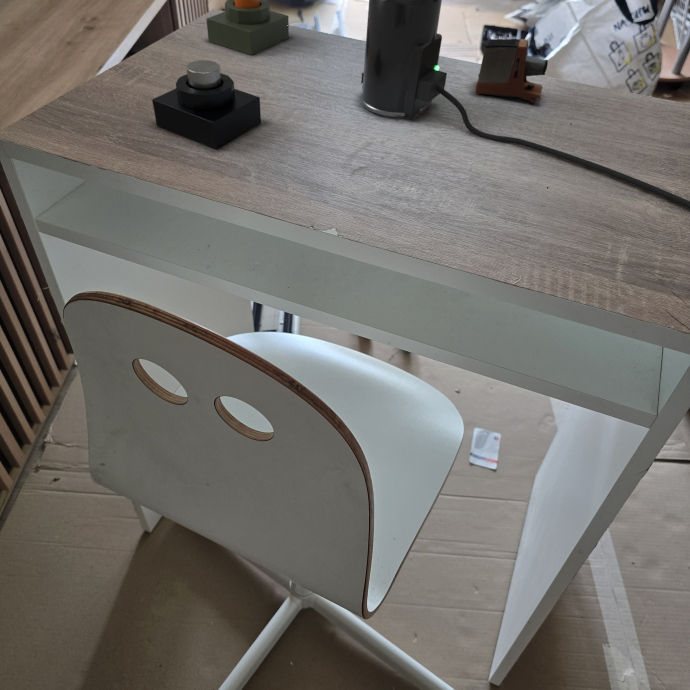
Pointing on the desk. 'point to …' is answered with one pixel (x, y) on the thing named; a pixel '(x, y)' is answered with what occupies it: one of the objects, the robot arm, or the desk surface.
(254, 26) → the block far
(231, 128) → the block near
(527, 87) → the electronic device
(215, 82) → the button near
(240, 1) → the button far
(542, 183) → the desk surface
